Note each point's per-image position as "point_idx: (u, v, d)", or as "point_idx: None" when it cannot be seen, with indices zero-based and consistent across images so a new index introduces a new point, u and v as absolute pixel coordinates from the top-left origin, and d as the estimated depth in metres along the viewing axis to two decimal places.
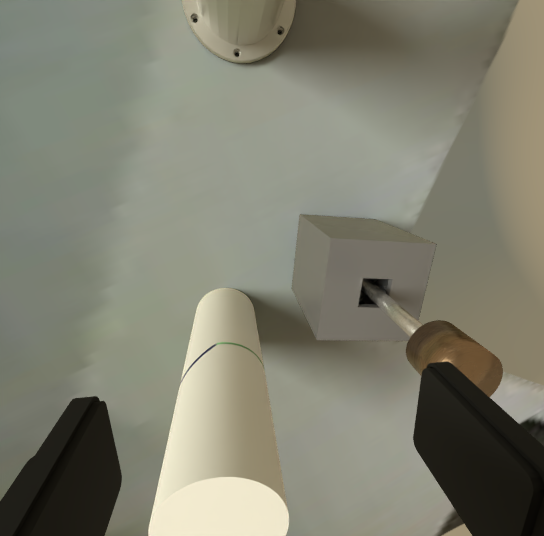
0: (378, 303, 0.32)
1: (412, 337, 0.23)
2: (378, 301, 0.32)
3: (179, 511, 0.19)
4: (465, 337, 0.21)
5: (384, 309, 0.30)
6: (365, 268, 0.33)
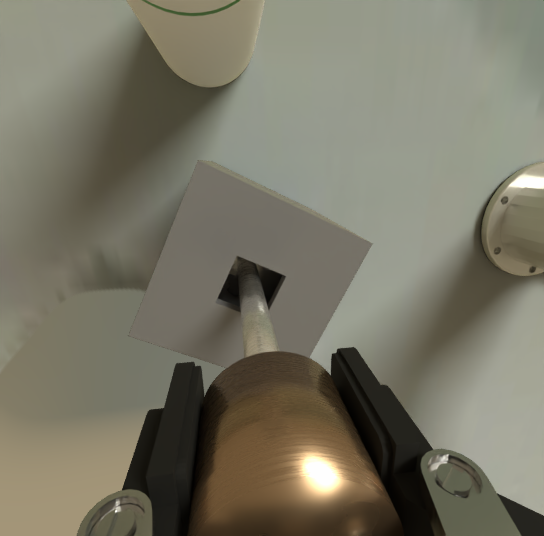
0: (256, 293, 0.17)
1: (326, 372, 0.10)
2: (260, 294, 0.17)
3: None
4: None
5: (258, 303, 0.16)
6: (300, 283, 0.20)
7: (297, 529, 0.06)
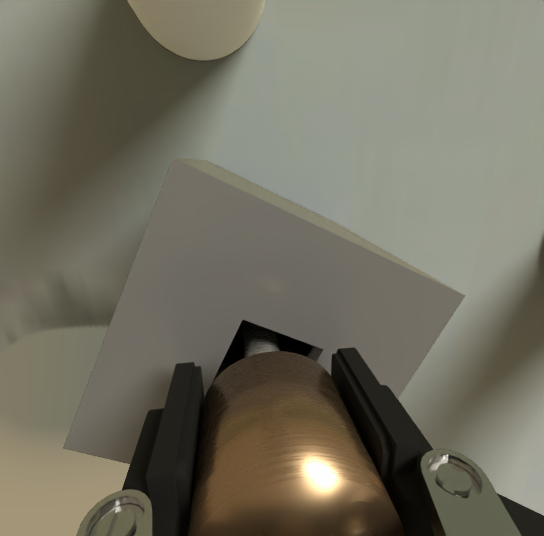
0: None
1: (326, 372, 0.10)
2: None
3: None
4: None
5: None
6: None
7: (297, 528, 0.06)
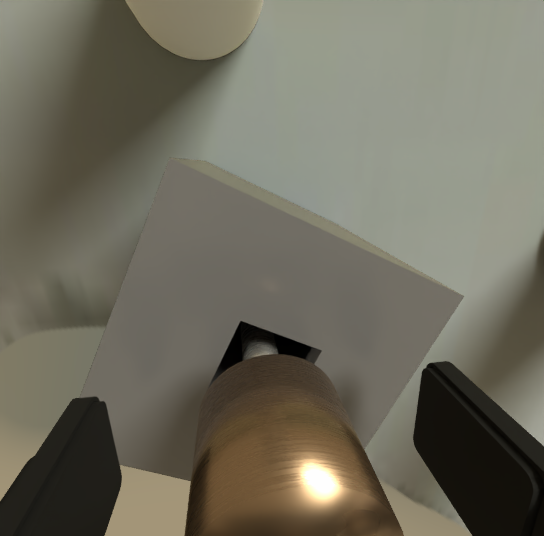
0: None
1: (325, 375, 0.09)
2: None
3: None
4: None
5: None
6: (344, 361, 0.12)
7: None
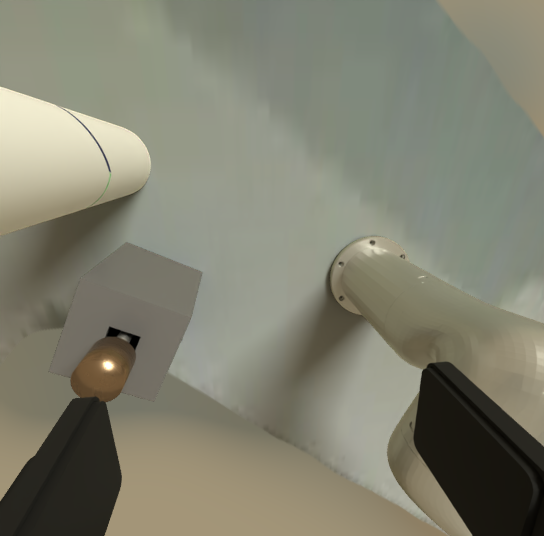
0: None
1: (127, 343, 0.31)
2: None
3: None
4: None
5: None
6: (150, 340, 0.34)
7: (95, 372, 0.28)
